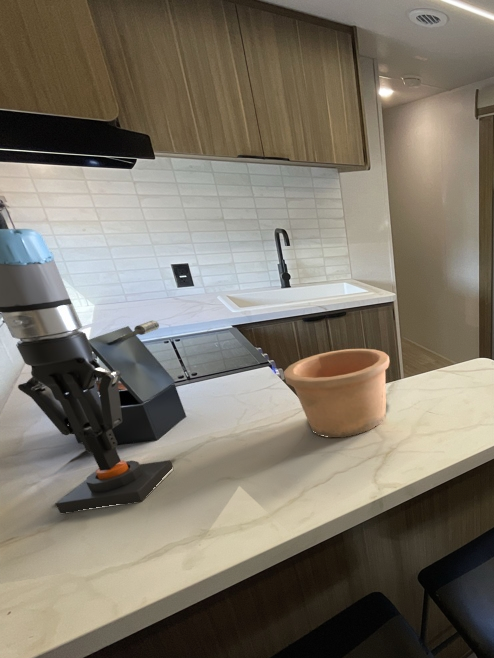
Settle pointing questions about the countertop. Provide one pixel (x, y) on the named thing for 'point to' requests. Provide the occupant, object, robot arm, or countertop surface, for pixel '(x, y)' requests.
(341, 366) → the pottery
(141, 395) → the lid
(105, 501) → the panel
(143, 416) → the dark grey box
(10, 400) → the countertop surface
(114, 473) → the button
